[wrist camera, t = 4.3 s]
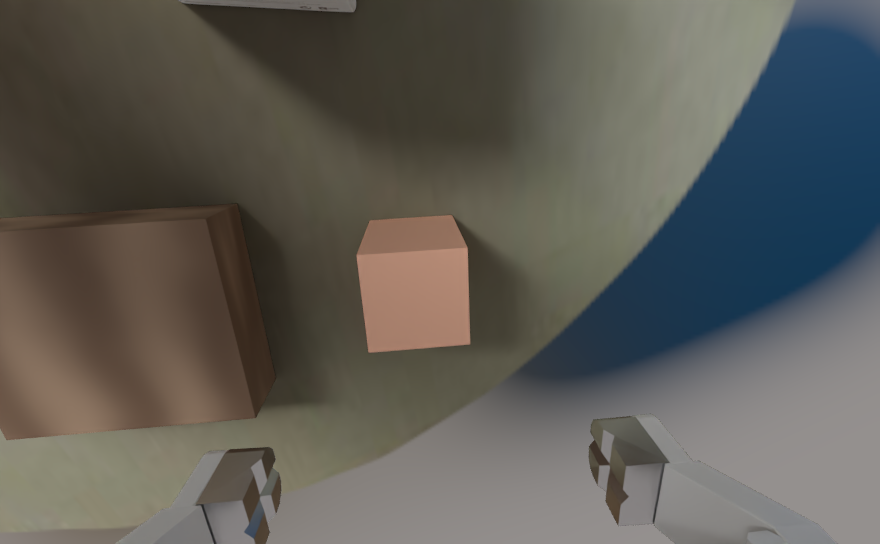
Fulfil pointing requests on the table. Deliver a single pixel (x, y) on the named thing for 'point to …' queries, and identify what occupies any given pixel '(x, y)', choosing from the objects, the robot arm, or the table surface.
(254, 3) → the supplement box
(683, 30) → the table surface
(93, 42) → the table surface
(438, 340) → the terracotta block
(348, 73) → the table surface
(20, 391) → the walnut stand
